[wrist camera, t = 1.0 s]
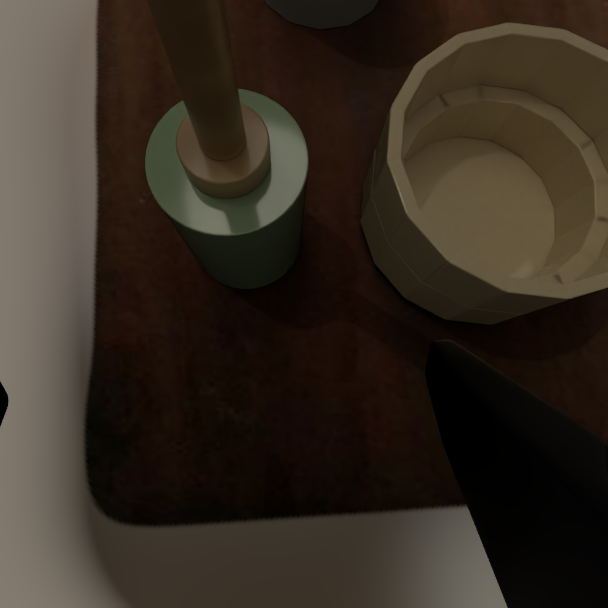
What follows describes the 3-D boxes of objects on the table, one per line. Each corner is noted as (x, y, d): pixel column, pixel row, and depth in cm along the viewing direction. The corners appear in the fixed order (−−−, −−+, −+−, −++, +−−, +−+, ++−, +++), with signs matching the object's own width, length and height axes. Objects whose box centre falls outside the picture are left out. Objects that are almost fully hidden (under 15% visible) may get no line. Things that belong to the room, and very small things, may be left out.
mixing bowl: (615, 236, 24) (744, 175, 18) (461, 371, 23) (537, 362, 16) (470, 86, 26) (536, -23, 19) (315, 201, 24) (326, 125, 17)
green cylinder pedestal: (323, 244, 24) (341, 172, 16) (236, 311, 23) (209, 269, 15) (257, 166, 24) (243, 59, 17) (170, 227, 24) (112, 145, 16)
